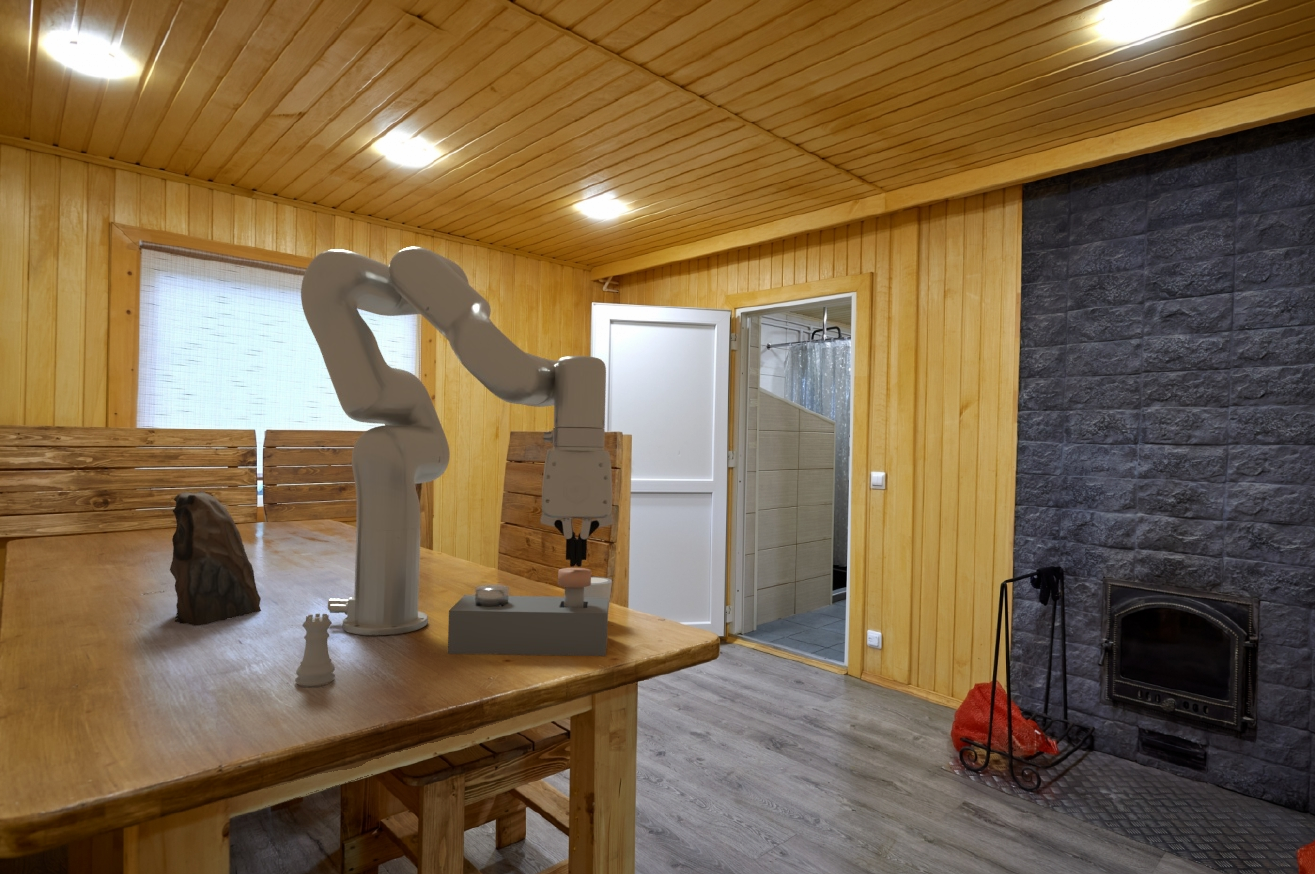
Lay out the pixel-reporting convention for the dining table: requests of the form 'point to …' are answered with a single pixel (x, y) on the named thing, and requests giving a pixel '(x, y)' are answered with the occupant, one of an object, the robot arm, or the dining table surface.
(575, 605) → the terracotta plug
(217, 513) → the brown rock
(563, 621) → the press console
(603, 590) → the shot glass
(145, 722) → the dining table surface
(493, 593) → the steel plug
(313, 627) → the rook chess piece
